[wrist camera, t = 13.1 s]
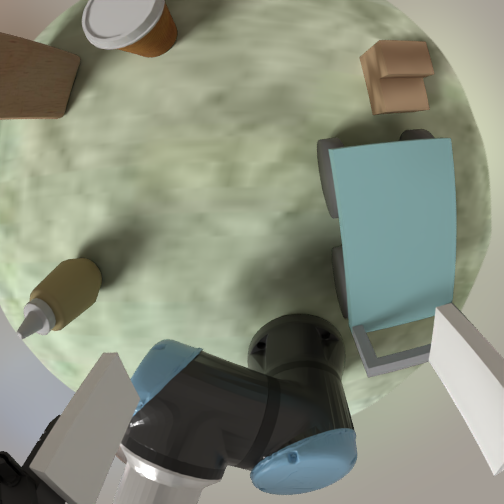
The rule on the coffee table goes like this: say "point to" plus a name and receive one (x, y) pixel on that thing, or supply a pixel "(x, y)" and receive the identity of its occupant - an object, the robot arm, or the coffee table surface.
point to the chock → (397, 76)
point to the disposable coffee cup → (130, 26)
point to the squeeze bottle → (61, 297)
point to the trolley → (391, 235)
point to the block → (34, 79)
